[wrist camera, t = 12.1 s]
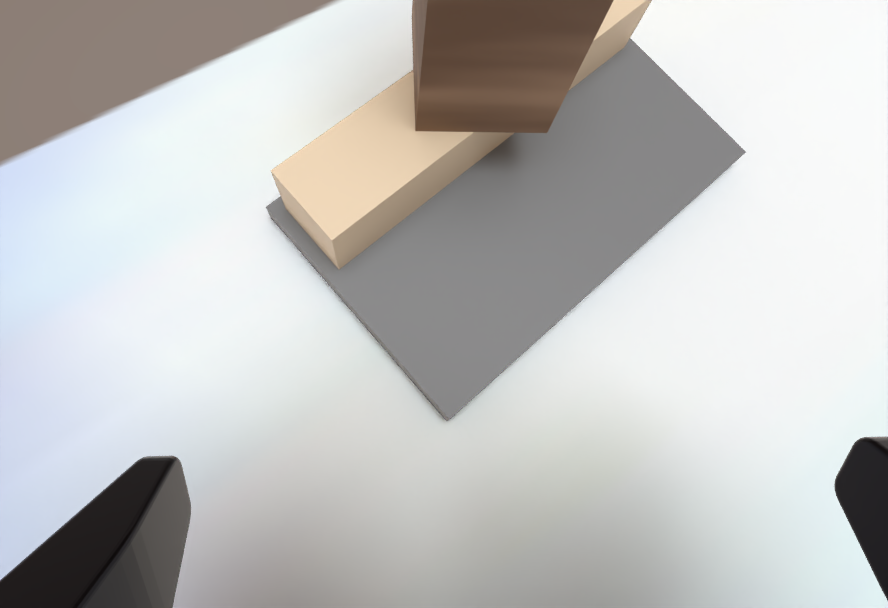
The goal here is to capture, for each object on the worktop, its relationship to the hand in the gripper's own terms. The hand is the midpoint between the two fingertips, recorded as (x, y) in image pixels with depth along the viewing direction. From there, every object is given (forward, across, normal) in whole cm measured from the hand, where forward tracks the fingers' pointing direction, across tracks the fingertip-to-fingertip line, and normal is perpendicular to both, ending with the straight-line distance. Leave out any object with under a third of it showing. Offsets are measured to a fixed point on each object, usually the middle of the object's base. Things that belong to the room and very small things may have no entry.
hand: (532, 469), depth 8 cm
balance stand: (+17, -3, +2) cm, 17 cm away
